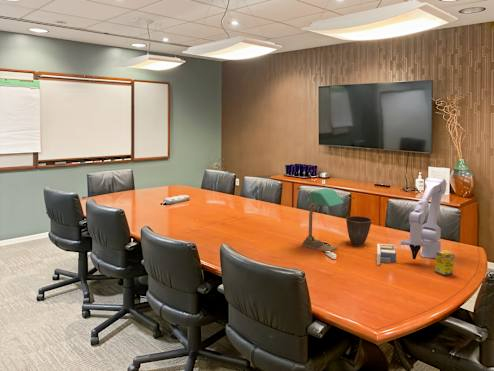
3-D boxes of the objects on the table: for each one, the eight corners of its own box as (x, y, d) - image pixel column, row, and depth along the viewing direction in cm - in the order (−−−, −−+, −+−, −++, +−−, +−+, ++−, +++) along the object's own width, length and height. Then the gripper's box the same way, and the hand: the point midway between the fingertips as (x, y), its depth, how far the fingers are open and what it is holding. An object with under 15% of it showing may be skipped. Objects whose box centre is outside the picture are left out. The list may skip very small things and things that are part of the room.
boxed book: (394, 260, 234) (395, 250, 233) (395, 262, 230) (396, 252, 229) (379, 259, 235) (380, 249, 235) (380, 261, 232) (380, 251, 231)
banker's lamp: (313, 241, 267) (315, 186, 262) (342, 249, 253) (345, 190, 247) (298, 247, 256) (299, 189, 250) (327, 255, 242) (329, 194, 236)
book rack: (393, 255, 242) (393, 245, 241) (394, 266, 224) (395, 255, 223) (376, 253, 244) (377, 243, 243) (376, 264, 226) (377, 253, 225)
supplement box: (444, 276, 210) (445, 254, 208) (434, 272, 216) (436, 251, 214) (452, 274, 212) (454, 253, 211) (443, 270, 218) (444, 249, 216)
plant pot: (374, 244, 262) (375, 218, 260) (363, 249, 251) (364, 223, 249) (352, 239, 272) (353, 215, 270) (340, 244, 261) (341, 219, 259)
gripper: (401, 234, 225) (400, 259, 227) (431, 237, 221) (429, 262, 223) (400, 231, 231) (399, 255, 233) (429, 233, 227) (427, 258, 229)
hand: (414, 258), depth 229 cm, fingers closed
